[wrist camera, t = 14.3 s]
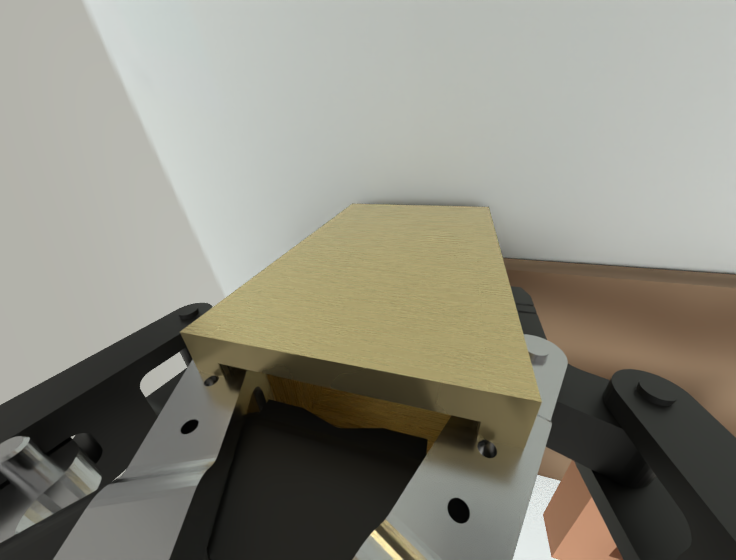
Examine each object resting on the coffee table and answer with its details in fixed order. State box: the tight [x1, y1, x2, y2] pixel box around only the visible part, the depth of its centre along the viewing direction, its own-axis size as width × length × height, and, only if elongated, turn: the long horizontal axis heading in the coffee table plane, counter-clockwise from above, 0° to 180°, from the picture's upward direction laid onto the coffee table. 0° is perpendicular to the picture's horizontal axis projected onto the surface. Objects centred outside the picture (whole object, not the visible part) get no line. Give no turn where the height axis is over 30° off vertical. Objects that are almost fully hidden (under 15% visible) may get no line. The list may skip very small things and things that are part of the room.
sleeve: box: [180, 204, 542, 453], centre depth 9 cm, size 6×6×9 cm
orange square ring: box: [543, 460, 623, 560], centre depth 10 cm, size 6×6×2 cm
